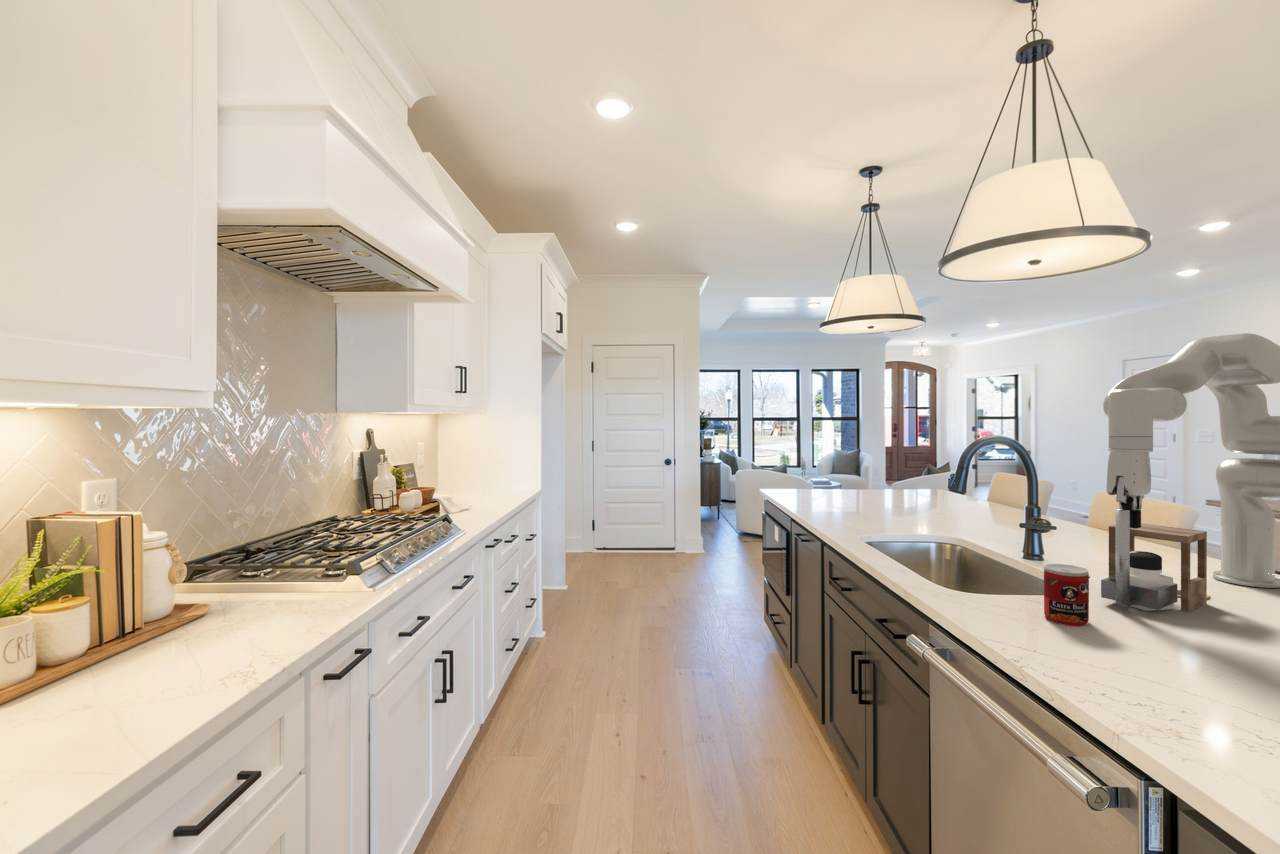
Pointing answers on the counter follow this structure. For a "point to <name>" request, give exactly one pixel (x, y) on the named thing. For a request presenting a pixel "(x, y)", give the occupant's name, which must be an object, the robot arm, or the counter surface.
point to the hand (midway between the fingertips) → (1130, 527)
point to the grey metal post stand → (1120, 583)
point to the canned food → (1066, 594)
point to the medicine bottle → (1148, 574)
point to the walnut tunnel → (1190, 589)
